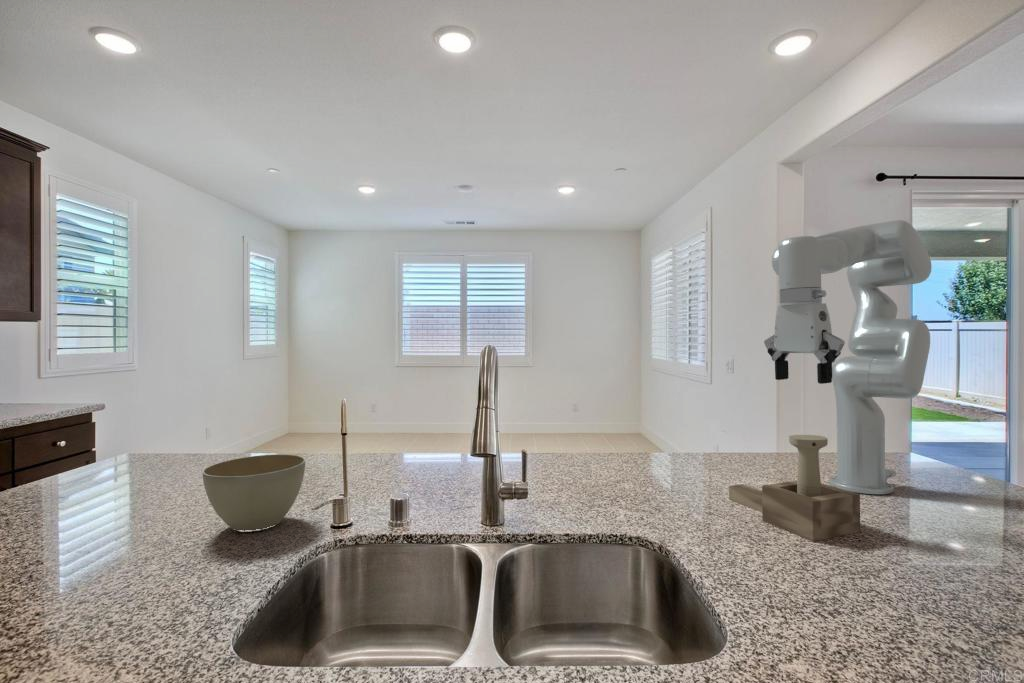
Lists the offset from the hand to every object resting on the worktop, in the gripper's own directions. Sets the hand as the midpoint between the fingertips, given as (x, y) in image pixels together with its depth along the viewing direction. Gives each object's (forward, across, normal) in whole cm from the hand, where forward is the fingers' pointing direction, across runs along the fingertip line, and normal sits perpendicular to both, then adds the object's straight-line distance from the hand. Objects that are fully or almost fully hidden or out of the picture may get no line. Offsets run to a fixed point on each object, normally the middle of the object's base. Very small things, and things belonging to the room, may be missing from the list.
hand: (802, 381), depth 103 cm
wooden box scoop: (+27, +1, +6) cm, 28 cm away
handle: (+25, -6, +6) cm, 26 cm away
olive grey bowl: (+24, +37, +105) cm, 114 cm away
